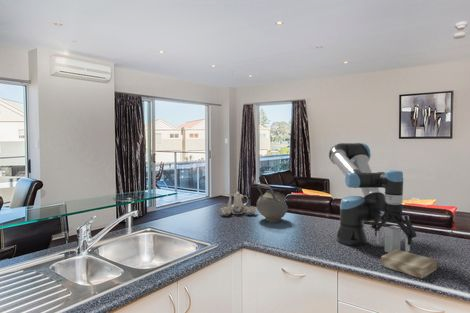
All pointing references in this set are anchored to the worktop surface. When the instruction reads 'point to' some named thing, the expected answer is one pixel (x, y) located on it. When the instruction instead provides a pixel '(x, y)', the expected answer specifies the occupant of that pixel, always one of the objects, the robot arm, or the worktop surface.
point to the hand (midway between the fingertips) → (392, 247)
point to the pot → (271, 204)
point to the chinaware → (238, 206)
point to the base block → (409, 263)
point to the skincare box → (392, 238)
